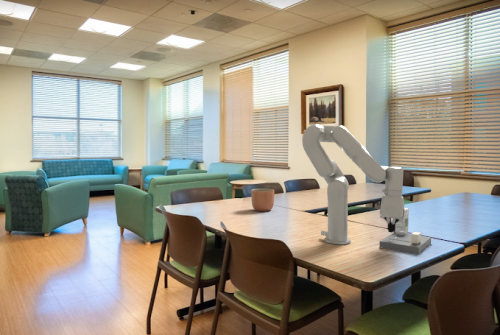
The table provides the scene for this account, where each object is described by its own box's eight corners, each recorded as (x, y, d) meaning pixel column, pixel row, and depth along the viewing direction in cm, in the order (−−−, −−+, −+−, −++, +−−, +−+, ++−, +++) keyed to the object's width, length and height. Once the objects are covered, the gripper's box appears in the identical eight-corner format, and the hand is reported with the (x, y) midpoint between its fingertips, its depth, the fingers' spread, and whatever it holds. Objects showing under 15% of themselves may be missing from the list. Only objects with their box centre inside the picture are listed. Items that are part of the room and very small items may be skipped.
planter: (259, 207, 277) (259, 188, 276) (278, 209, 267) (278, 189, 267) (246, 210, 264) (246, 190, 263) (266, 213, 254) (266, 191, 253)
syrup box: (396, 233, 192) (397, 206, 191) (408, 235, 188) (408, 207, 188) (393, 235, 188) (393, 208, 187) (405, 237, 184) (405, 209, 183)
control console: (379, 247, 166) (379, 236, 166) (394, 237, 183) (394, 228, 183) (418, 254, 156) (418, 242, 155) (431, 243, 172) (431, 233, 172)
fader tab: (410, 242, 162) (411, 233, 161) (414, 240, 165) (414, 231, 165) (418, 243, 160) (418, 234, 159) (421, 241, 164) (421, 232, 163)
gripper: (374, 192, 170) (372, 230, 171) (407, 195, 160) (405, 236, 161) (380, 190, 175) (378, 227, 177) (412, 194, 166) (410, 233, 167)
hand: (391, 231), depth 169 cm, fingers closed
